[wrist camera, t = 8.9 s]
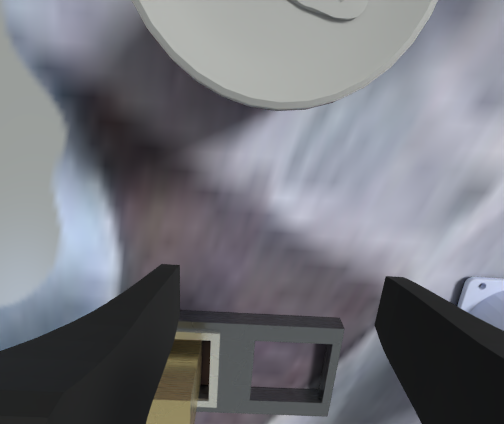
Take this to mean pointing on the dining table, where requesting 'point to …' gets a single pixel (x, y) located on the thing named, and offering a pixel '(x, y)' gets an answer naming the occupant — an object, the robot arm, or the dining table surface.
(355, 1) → the canned food
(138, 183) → the dining table surface
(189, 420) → the brass block
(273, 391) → the grey double window frame
